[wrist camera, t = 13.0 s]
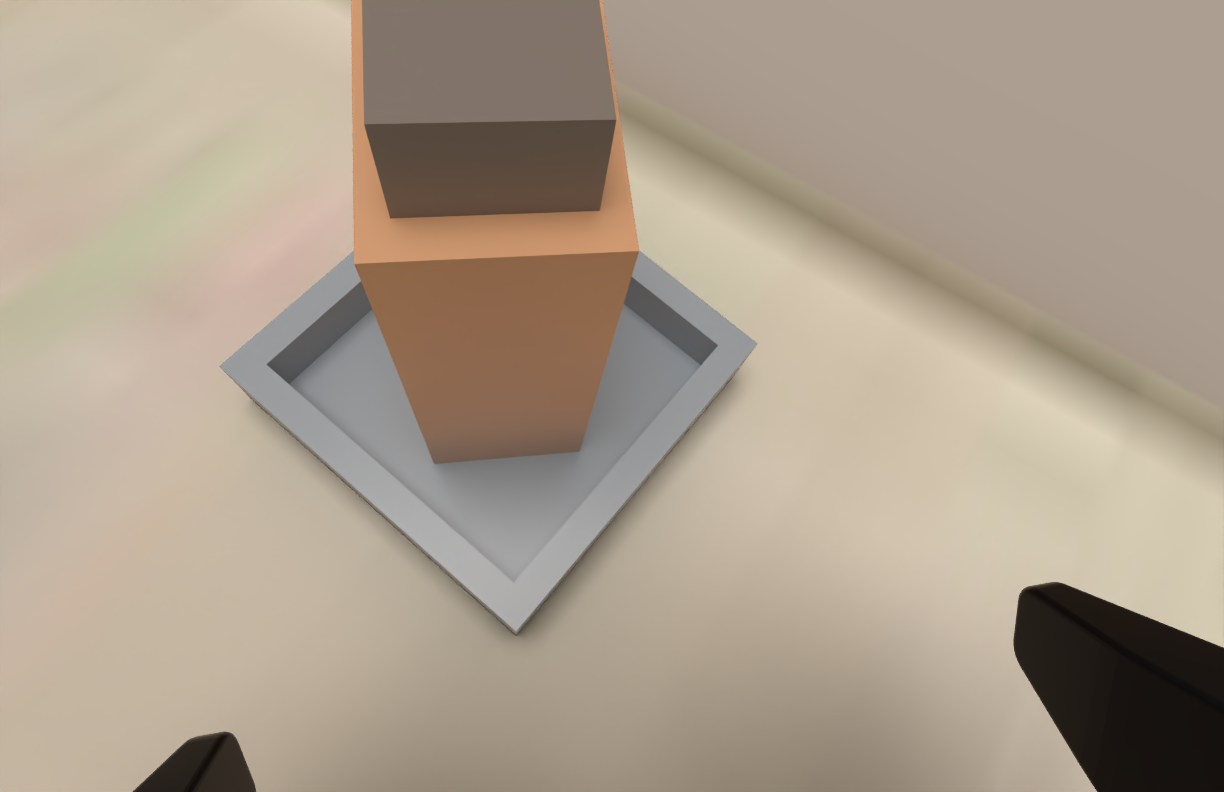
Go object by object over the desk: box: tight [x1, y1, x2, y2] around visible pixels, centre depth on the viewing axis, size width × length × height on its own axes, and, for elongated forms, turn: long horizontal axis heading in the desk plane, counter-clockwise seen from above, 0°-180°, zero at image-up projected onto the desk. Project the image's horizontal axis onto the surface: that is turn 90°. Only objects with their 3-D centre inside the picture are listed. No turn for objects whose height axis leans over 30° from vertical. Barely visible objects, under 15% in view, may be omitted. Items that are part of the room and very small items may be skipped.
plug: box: [351, 0, 639, 464], centre depth 16 cm, size 5×4×13 cm
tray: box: [219, 251, 757, 635], centre depth 21 cm, size 10×10×2 cm
